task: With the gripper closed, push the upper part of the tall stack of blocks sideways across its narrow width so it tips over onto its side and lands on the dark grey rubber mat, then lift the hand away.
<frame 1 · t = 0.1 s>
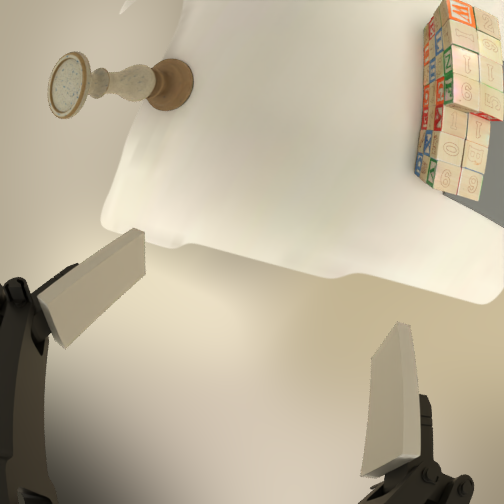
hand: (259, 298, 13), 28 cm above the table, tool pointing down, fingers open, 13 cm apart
candle holder: (170, 84, 36), on the table
stack of blocks: (443, 103, 25), on the table, touching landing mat
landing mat: (500, 137, 24), on the table
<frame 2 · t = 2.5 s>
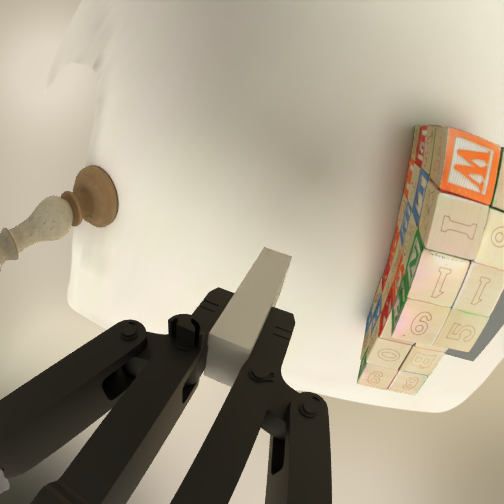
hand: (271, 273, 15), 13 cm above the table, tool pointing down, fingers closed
candle holder: (98, 195, 34), on the table
stack of blocks: (422, 241, 23), on the table, touching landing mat
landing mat: (493, 273, 21), on the table
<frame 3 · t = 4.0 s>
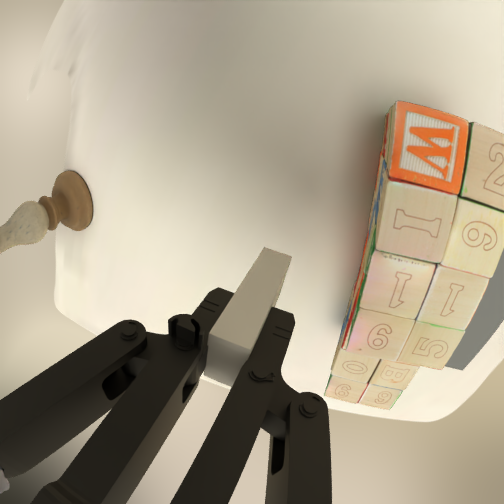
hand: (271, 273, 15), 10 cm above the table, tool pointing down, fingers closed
candle holder: (75, 199, 33), on the table
stack of blocks: (398, 242, 22), on the table, touching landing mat
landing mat: (482, 276, 20), on the table
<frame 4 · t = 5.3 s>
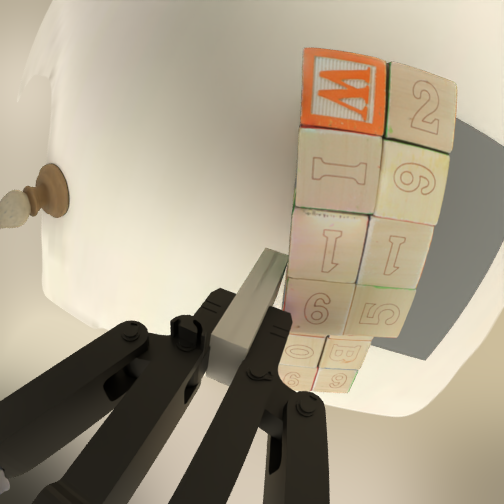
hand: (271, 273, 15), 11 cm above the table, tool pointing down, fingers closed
candle holder: (55, 189, 35), on the table
stack of blocks: (328, 218, 23), point 1 cm above the table, touching gripper, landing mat
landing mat: (433, 254, 21), on the table
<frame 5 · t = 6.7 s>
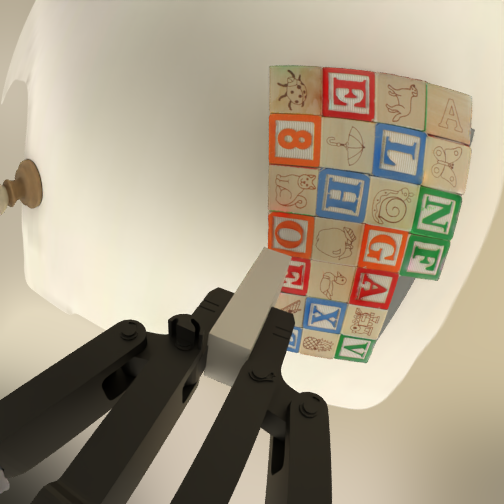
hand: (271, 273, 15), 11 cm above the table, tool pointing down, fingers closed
candle holder: (32, 182, 35), on the table
stack of blocks: (274, 215, 21), point 4 cm above the table, touching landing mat
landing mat: (362, 229, 23), on the table
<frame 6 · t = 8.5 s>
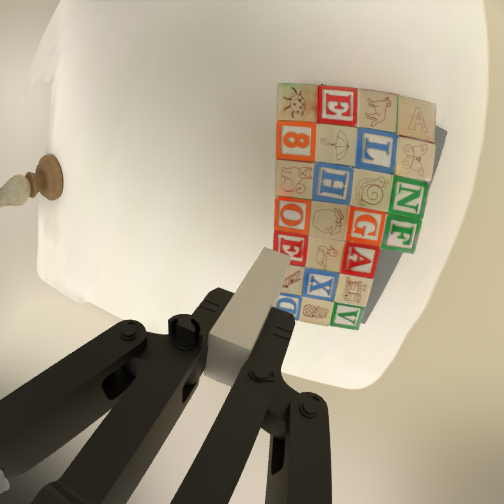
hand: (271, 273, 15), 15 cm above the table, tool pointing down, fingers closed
candle holder: (52, 176, 40), on the table
stack of blocks: (279, 202, 25), point 4 cm above the table, touching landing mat
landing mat: (352, 216, 27), on the table
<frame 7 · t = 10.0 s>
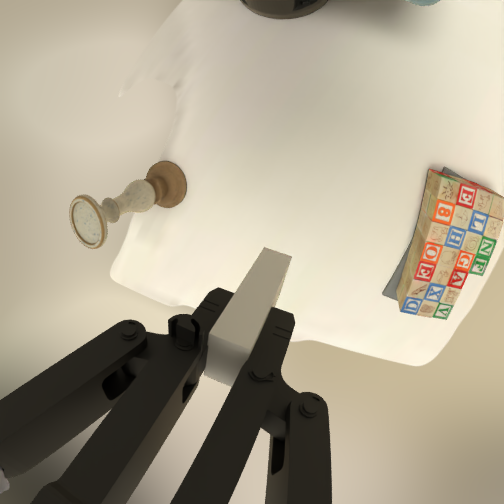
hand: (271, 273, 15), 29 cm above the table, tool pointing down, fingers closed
candle holder: (167, 183, 49), on the table
stack of blocks: (416, 241, 35), point 4 cm above the table, touching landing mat
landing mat: (444, 249, 38), on the table
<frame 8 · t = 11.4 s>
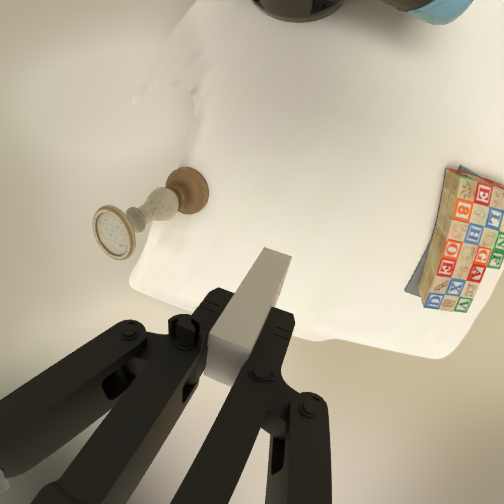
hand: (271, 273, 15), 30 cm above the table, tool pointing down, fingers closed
candle holder: (188, 190, 50), on the table
stack of blocks: (437, 239, 35), point 4 cm above the table, touching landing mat
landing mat: (462, 245, 37), on the table
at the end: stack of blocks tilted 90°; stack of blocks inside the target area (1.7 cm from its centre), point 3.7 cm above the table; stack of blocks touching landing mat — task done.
